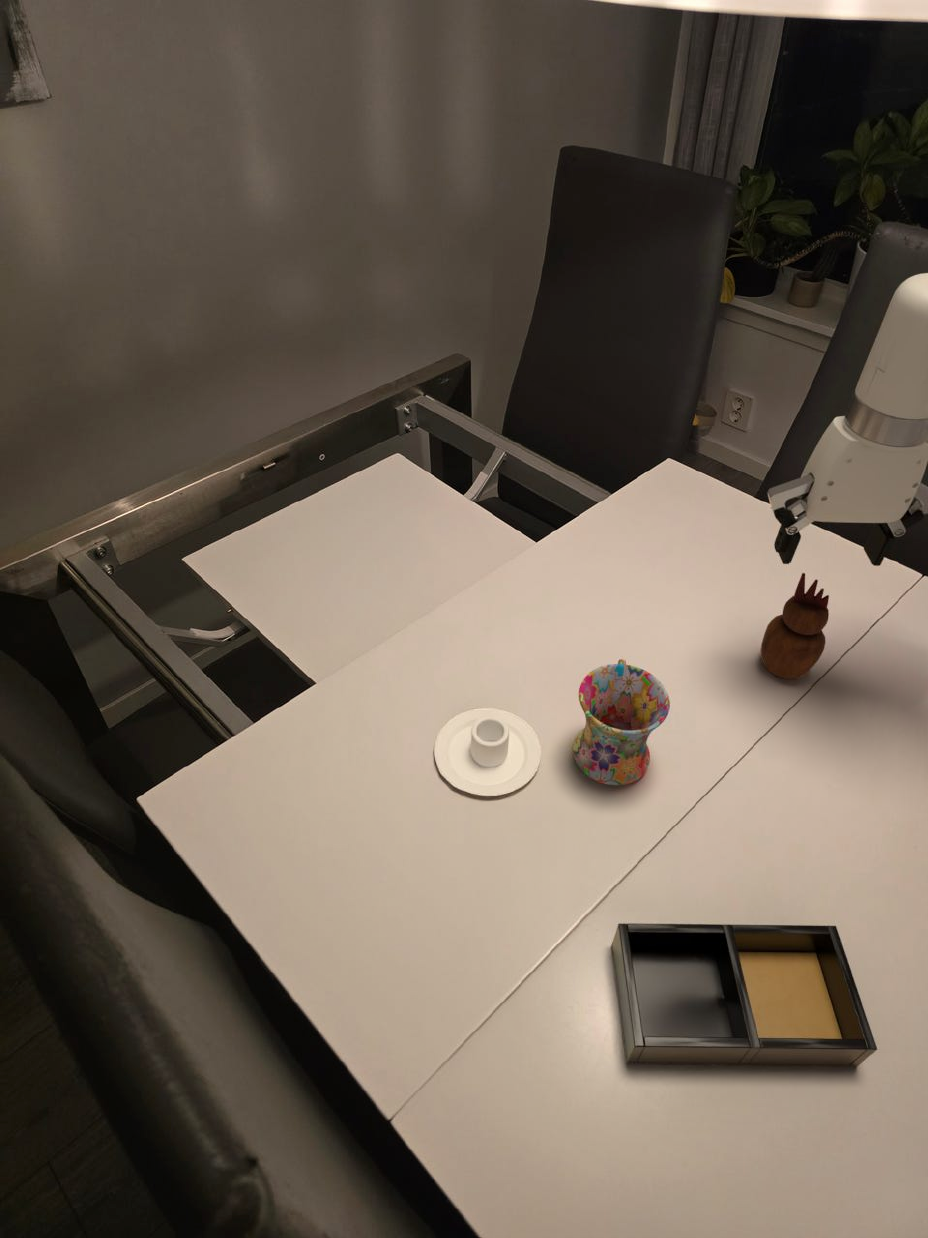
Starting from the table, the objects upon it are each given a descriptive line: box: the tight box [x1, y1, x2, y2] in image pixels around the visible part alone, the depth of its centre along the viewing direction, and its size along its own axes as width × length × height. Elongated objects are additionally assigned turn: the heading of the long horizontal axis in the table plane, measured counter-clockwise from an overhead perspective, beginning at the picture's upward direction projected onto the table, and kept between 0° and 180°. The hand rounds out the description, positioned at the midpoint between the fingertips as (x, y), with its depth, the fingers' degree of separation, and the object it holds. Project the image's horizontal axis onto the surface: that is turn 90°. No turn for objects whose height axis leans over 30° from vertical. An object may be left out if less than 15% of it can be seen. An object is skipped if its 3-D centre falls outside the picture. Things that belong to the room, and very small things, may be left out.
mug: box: [572, 658, 671, 786], centre depth 85 cm, size 12×9×11 cm
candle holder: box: [433, 707, 542, 797], centre depth 87 cm, size 12×12×4 cm
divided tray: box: [610, 922, 878, 1068], centre depth 68 cm, size 19×10×5 cm, turn 89°
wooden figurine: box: [760, 572, 830, 680], centre depth 92 cm, size 7×6×15 cm
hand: (826, 556), depth 85 cm, fingers open, 9 cm apart
